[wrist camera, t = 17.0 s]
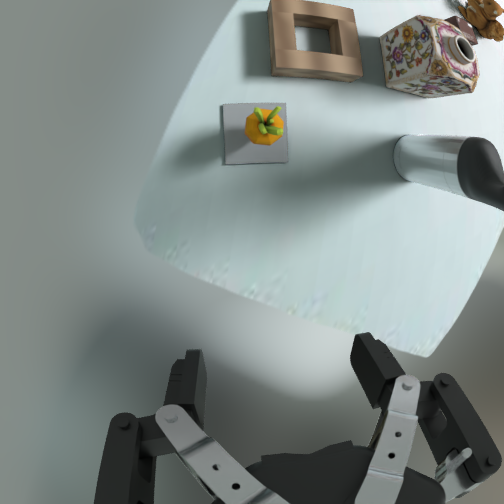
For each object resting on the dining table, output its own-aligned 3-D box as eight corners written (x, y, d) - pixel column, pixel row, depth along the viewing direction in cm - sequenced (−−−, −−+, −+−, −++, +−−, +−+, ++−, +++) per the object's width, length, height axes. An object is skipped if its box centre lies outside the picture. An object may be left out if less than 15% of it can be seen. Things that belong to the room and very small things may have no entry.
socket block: (342, 19, 33) (353, 9, 28) (350, 82, 38) (363, 76, 33) (267, 10, 32) (270, -3, 27) (271, 75, 37) (276, 67, 32)
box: (442, 43, 33) (462, 37, 26) (435, 22, 31) (454, 14, 24) (458, 49, 33) (478, 44, 26) (452, 29, 31) (470, 23, 24)
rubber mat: (285, 103, 39) (285, 103, 38) (287, 162, 42) (288, 162, 42) (223, 104, 38) (222, 104, 38) (225, 164, 42) (225, 164, 41)
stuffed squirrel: (467, 1, 26) (495, -9, 13) (492, 42, 30) (522, 37, 18) (452, 1, 27) (482, -11, 15) (480, 46, 32) (513, 39, 19)
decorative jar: (384, 87, 38) (447, 69, 21) (376, 36, 34) (431, 3, 17) (430, 99, 39) (493, 93, 22) (423, 51, 34) (480, 32, 18)
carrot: (237, 122, 39) (240, 107, 25) (267, 114, 39) (285, 96, 25) (246, 151, 41) (254, 150, 27) (276, 142, 41) (298, 139, 27)
